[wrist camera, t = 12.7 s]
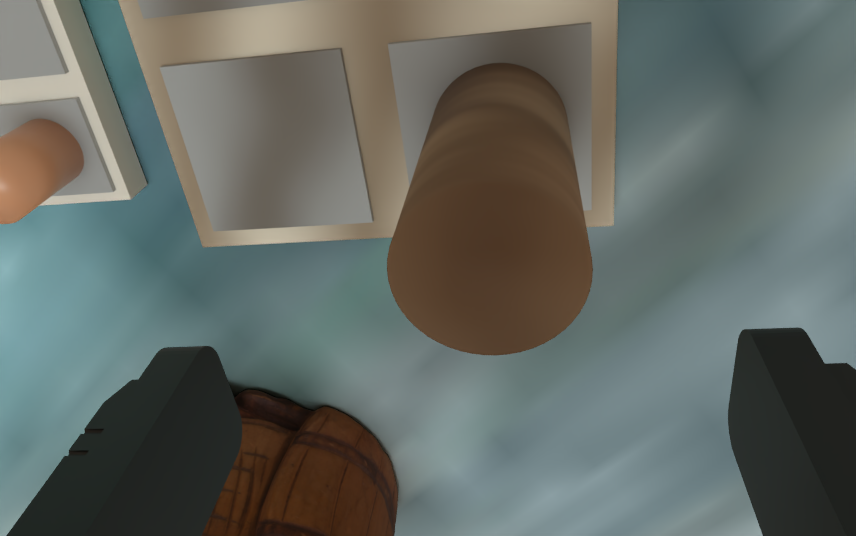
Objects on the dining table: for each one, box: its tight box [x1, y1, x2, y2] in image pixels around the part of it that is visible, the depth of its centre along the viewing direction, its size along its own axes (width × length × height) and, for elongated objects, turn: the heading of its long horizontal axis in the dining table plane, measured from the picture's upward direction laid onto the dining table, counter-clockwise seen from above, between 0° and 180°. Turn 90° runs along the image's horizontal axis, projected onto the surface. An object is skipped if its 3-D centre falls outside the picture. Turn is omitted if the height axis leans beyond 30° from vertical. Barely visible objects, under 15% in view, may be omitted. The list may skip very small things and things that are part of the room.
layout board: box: [118, 0, 618, 247], centre depth 19 cm, size 14×14×1 cm
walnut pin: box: [387, 63, 593, 355], centre depth 17 cm, size 4×4×8 cm
